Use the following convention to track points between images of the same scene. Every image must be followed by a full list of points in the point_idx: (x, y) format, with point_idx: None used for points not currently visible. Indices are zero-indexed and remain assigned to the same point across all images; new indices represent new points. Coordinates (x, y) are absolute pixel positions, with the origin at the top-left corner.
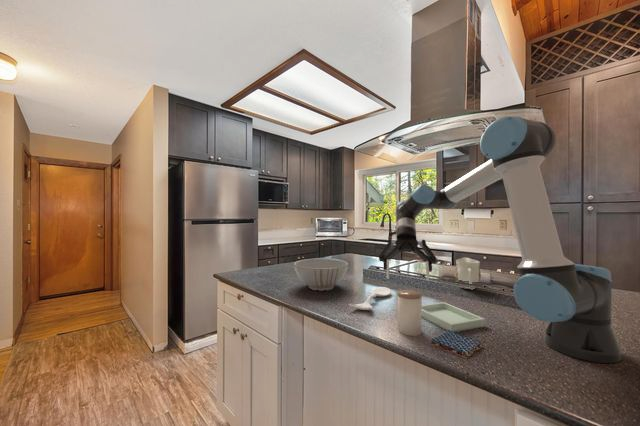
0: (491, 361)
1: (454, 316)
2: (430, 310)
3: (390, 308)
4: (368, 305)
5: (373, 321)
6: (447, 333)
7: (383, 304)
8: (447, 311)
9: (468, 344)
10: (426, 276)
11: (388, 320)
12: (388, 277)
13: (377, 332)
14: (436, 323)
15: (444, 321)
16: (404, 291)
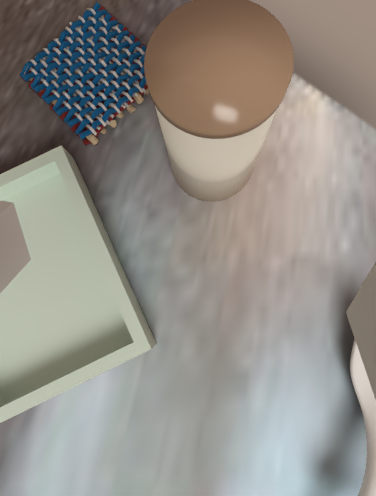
0: (42, 6)
1: (1, 296)
2: (75, 363)
3: (253, 401)
4: (371, 395)
5: (340, 232)
6: (96, 111)
7: (282, 463)
8: (5, 355)
9: (64, 43)
10: (4, 282)
11: (277, 249)
12: (357, 297)
13: (327, 136)
14: (99, 217)
15: (74, 174)
16: (243, 86)
